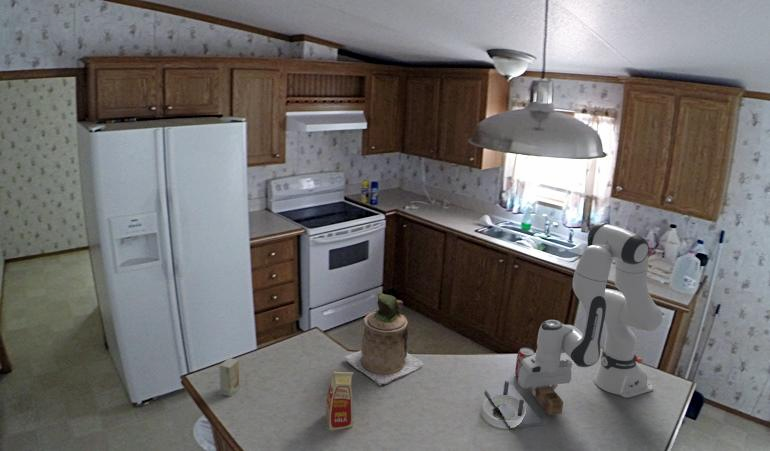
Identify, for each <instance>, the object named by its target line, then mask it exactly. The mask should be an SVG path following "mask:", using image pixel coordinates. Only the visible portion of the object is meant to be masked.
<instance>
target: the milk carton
mask: <svg viewBox="0 0 770 451" xmlns="http://www.w3.org/2000/svg"><path fill="white" fill-rule="evenodd" d="M354 373H355V372H354V371H349V372H346V371H345V372H341V371H333V375H332V378H331V381H330V385H329V387H328V390H327V397H326V400H325V401H326V402H325V410H326V411H325V414H326V415H325V416H326V420H327V425H328V429H329V431H337V430H342V429H343V430H344V429H348V428H349V429H350V428H353V426H354V425H353V424H354V423H353V422H354V406H353V403H354V401H353V399H354V398H353V391H352V377H353V374H354Z"/></svg>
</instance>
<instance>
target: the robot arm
mask: <svg viewBox="0 0 770 451" xmlns="http://www.w3.org/2000/svg"><path fill="white" fill-rule="evenodd" d="M649 251H650V246H649V242H648V241H647V240H646V239H645V237H643V236H641V235H640V234H636V233H634V232H632V231H630V230H628V229H627V228H624V227H620V226H616V225H613V224H611V223H608V222H597V223H595V224H594V225H593V226H591V228H590V229H589V232H588V235H587V246H586V247H585V249H584V250H583V252H582V254H581V256H580V258H579V260H578V262H577V265H576V268H575V271H574V274H573V277H572V290H573V293H574V294H575V296H576V297H577V299H578V300H579V301H580V303H581V305H582V307H583V309H584V313H585V320H584V326H583V332H582V331H581V330H580V329H578V328H577V327H576V326H574V325H573V324H564V323H562V322H561V321H560V320H556V319H548V320H545V321H543V322H542V323H541V325H540V327H539V330H538V333H537V334H538V335H537V340H536V346H537V348H536V350H535V352H534V354H533V355H532V356H529V357H527V358H525V359H523V360H522V364H523V366H522V367H521V368H520V371H519V376H518V377H517V382H518V384H519V386H520V387H521V389H529V388H530V387H531V388H532V390H533V391H532V392H531V394H532V395H533V396H534V397H535V396H537V395H538V391H537V390H536V387H539V386H547V385H550V386H551V387H552V389H553V390H554V391H555V390H556V389H557V387H558V386H559V385H563V384H570V382H571V381H572V367H573V363H574V364H575V365H576V366H577V367H579V368H588V367H592V366H594V365H595V364H597V363H598V361H599V359H600V358H601V360H600V364H599V366H598V368H597V371H596V374H595V376H594V378H593V381H594V383H595V384H596V386H597V387H598V388H600V389H601V390H603V391H605V392H608V393H610V394H614V395H618V396H619V397H620V396H621V397H622V398H626V399H628V398H632V397H635V396H640V395H641V394H646V393H649V392H652V391H653V390H654V389H653V388H654V387H653V385H652V383H651V382H650V381H649V379H648V374H647V371H645V370H644V369H643V367H642V366H641V365H639V364H642V363H643V358H641V357H640V356H636V354H635V352H636V348H637V343H638V341H637V337H636V335H635V333H634V332H633V331H632V330H631V327H632V328H634V329H635V330H639V331H645V332H647V333H648V332H649V333H653V332H655V331H656V330H658V329H659V328H660V326H661V325H662V323H663V320H664V319H663V318H664V317H663V312H662V310H661V308H659V306H657V304H656V303H655V302H654V300H653V298H652V297H651V294H650V292H649V289H648V284H647V283H648V269H649V268H648V267H649ZM614 259H615V263H614V264H615V265H614V277H613V280H614V281H613V282H614V285H615V286H616V288H617V289H618V290H616V289H612V288H607V282H608V279H609V276H610V272H611V268H612V267H611V266H612V262H613V261H614ZM604 326H605V341H604V347H603V349H602V352H601V341H602V340H601V339H602V334H603V329H604ZM564 353H565V354H566V355H567V356H568V357H569V358H570V359H571V360H572V361H573V363H572V361H571V360H570V359H564V360H563V359H561V357H562V356H561V355H562V354H564Z"/></svg>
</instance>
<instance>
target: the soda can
mask: <svg viewBox="0 0 770 451" xmlns="http://www.w3.org/2000/svg"><path fill="white" fill-rule="evenodd" d="M533 354H535V351H534V349H532V348H529V347H521V348H520V349H519V351H518V352H517V355H516V362H515V363H516V364H515V371H514V372H515V377H517V378H518V376H519V371H520V368H521V367H522V366H523V364H522V360H523V359H525V358H527V357H529V356H532V355H533Z"/></svg>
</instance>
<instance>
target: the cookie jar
mask: <svg viewBox="0 0 770 451" xmlns="http://www.w3.org/2000/svg"><path fill="white" fill-rule="evenodd" d="M403 303H404V302H403V301H402V300H400V299H397V298H396V297H395V296H393V295H391V294H384V293H383V292H382V293H381V292H377V302H376V304H377V306H378V310H376V311H373V312H369V313H368V314H366V315H365V317H364V318H363V326H364V330H363V335H362V340H361V350H358V351H356V352H353V353H350V354H346V355H345V356H344V359H345V363H348V364H349V365H350V366H352V367H354V368H355V369H356V370H358V371H359V372H361V373H362V374H364V375H365V376H367V377H368V378H370V379H371V380H372V381H374V382H375V383H376V384H377V385H378V386H380V387H381V386H382V385H387V384H389V383H391V382H392V381H394V380H398V379H400V378H402V377H404V376H406V375H408V374H411V373H412V372H415V371H417V370H419V369H420V368H422V367H423V366H424V364H423V361H422V360H420V359H418V358H416V357H415V356H412V355H411V354H410V353H409V352H408V351H407V349H408V343H407V342H408V339H409V334H410V330H409V321H408V319H407V317H406V316H405V315H404V314H400V310H402V309H403Z"/></svg>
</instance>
